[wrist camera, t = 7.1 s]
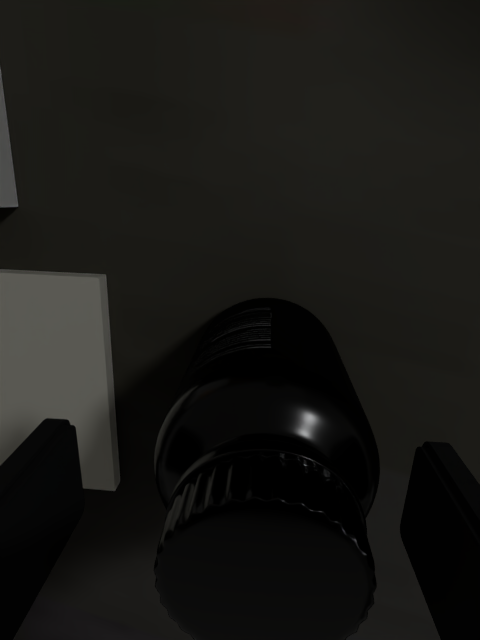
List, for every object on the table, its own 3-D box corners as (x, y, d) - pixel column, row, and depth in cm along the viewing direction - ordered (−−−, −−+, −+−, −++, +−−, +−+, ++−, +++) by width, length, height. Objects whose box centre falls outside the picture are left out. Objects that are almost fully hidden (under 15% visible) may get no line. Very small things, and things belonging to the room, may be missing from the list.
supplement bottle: (191, 408, 21) (91, 663, 9) (209, 283, 19) (107, 416, 7) (320, 432, 21) (377, 723, 9) (352, 308, 19) (478, 486, 7)
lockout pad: (120, 481, 23) (114, 491, 22) (-77, 464, 23) (-89, 473, 23) (106, 274, 19) (99, 277, 18) (-126, 262, 20) (-142, 265, 19)
